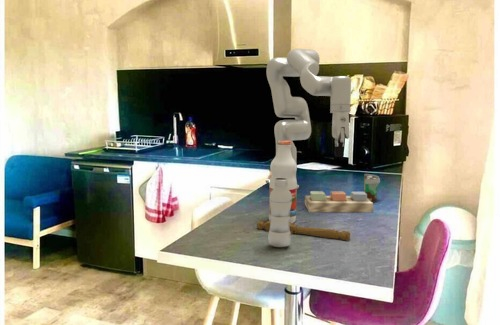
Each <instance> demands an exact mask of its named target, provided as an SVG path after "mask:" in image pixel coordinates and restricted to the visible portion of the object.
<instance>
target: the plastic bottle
mask: <svg viewBox="0 0 500 325" xmlns="http://www.w3.org/2000/svg"><path fill="white" fill-rule="evenodd" d="M274 185H275V188H274V189H273V190H272V192H271V193H270V196H269V198H268V199H270V208H271V222H270V230H269V231H268V235H267V236H268V237H267V238H268V244H269V245H270V246H271V247H275V248H285V247H288V246H289V245H290V244H291V241H292V234H291V233H290V221H289V219H290V209H291V203H292V194H291V192H290V191H289V189H288V188H287V186H288V180H287V178H275V183H274Z"/></svg>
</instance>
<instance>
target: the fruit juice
mask: <svg viewBox="0 0 500 325" xmlns="http://www.w3.org/2000/svg"><path fill="white" fill-rule="evenodd" d="M277 146H278V150H277V154H276V153H275V156H274V158H273V159H272V160H271V162H270V165H269V166H270V173H271V176H270V178H269V179H270V183H269V196H270V193H271V192H272V190H273V189H274V188H275V185H274V183H275V178H287V180H288V186H287V188H288V189H289V191H290V192H291V194H292V203H291V209H290V219H289V221H290V223H293V224H294V223H295V222H296V221H297V220H296V219H297V193H298V192H297V191H298V189H297V184H298V182H297V176H296V177H295V174H296V175H297V169H298V165H297V161H296V162H295V160H294V159H293V157H292V154H291V150H290V147H291V141H287V140H279V141H277ZM268 199H269V198H268ZM268 205H269V206H268V221H270V220H271V208H270V199H269V200H268Z"/></svg>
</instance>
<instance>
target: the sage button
mask: <svg viewBox="0 0 500 325" xmlns="http://www.w3.org/2000/svg"><path fill="white" fill-rule="evenodd" d="M309 193H310V195H309V196H310V200H311V201H325V196H326V193H325V192H324V191H323V190H320V191H319V190H315V191H314V190H312V191H311V190H310V192H309Z"/></svg>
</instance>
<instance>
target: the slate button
mask: <svg viewBox="0 0 500 325" xmlns="http://www.w3.org/2000/svg"><path fill="white" fill-rule="evenodd" d="M350 196H351V200H352V201H367V194H366V193H365V192H364V191H350Z"/></svg>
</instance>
